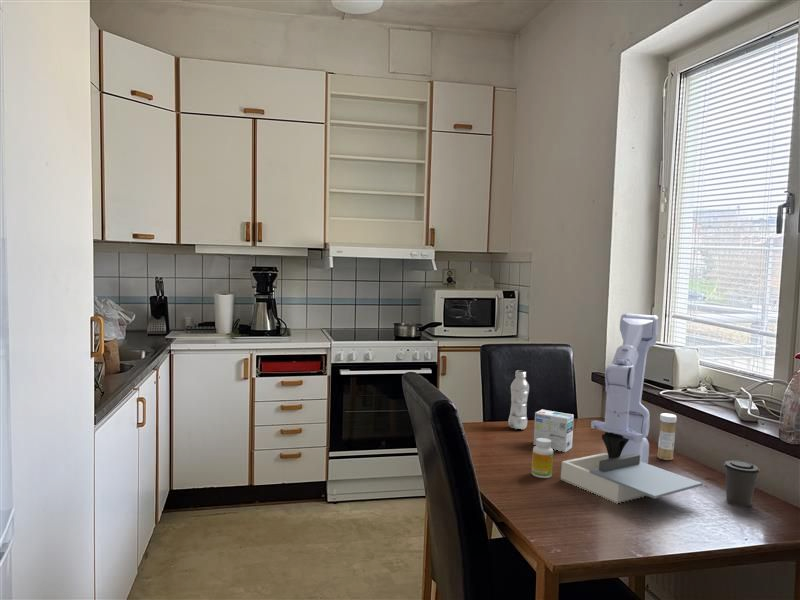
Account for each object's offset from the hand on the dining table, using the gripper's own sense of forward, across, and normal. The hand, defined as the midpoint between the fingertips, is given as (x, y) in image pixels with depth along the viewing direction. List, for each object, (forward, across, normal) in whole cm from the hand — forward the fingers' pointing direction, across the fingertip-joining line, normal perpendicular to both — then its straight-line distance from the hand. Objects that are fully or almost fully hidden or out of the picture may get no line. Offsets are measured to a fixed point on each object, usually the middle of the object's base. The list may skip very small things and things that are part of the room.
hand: (613, 462), depth 160 cm
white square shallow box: (+6, 0, 0) cm, 6 cm away
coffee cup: (+7, +22, +21) cm, 31 cm away
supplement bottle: (+7, -14, -11) cm, 19 cm away
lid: (+1, +9, 0) cm, 9 cm away
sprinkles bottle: (+7, -8, +35) cm, 37 cm away
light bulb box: (+7, -31, +11) cm, 34 cm away
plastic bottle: (+7, -51, +15) cm, 54 cm away
